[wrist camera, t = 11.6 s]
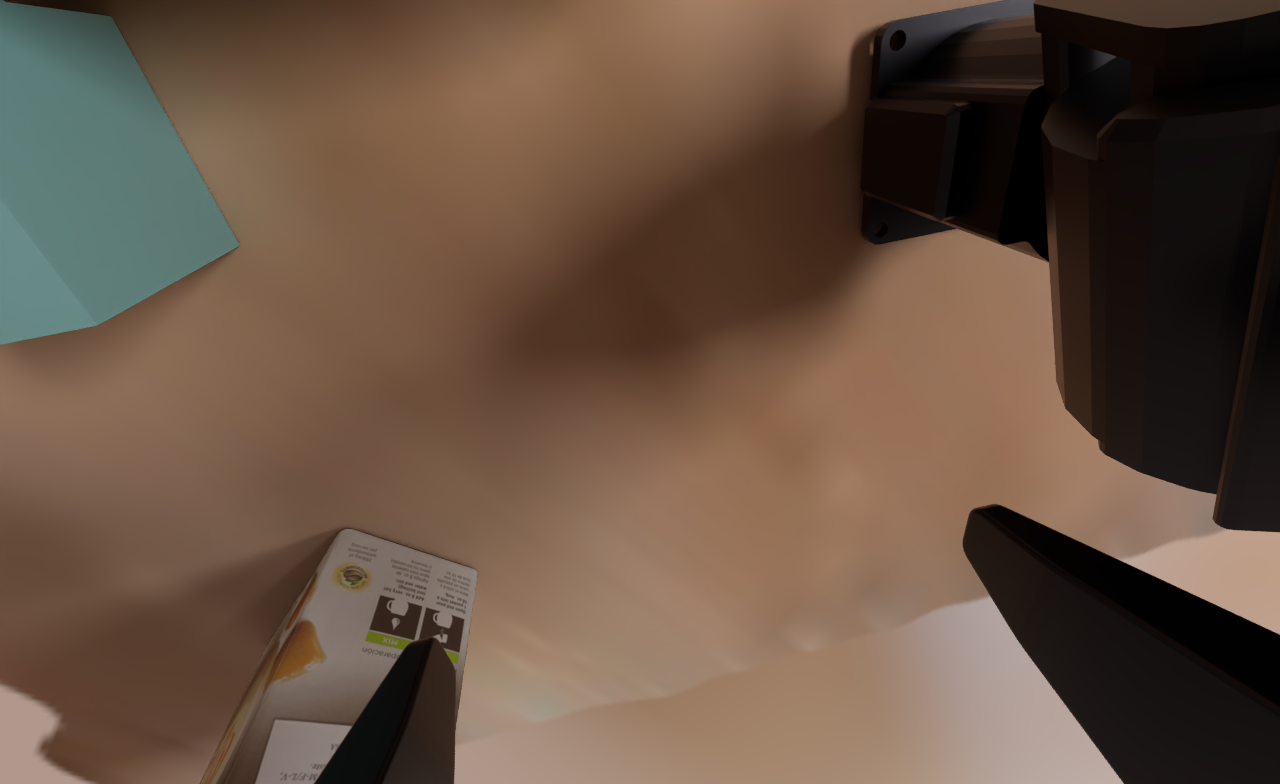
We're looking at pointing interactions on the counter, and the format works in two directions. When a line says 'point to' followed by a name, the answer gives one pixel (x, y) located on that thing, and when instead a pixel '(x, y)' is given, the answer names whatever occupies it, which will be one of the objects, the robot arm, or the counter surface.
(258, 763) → the coffee box
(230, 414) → the counter surface
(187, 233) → the crossbar
